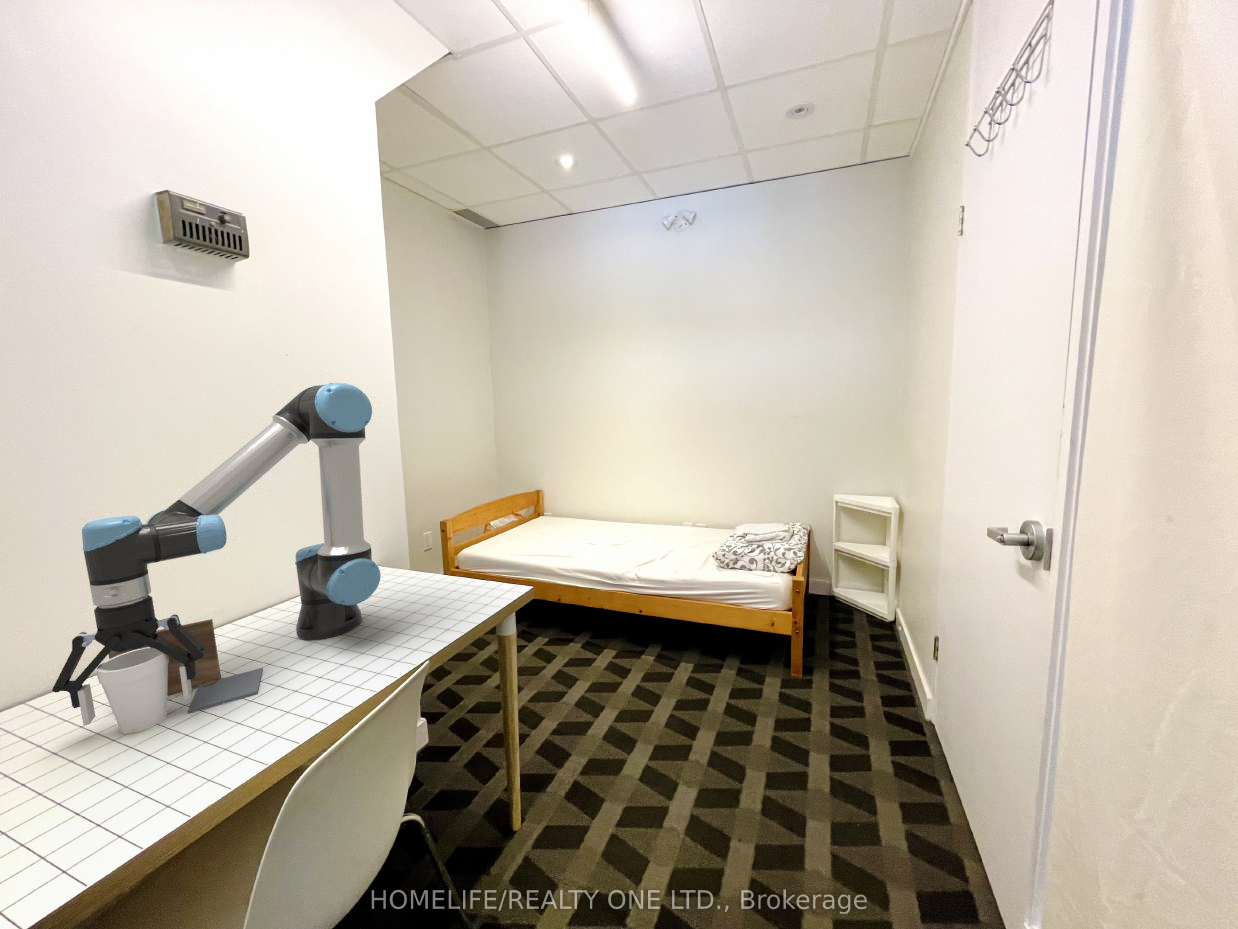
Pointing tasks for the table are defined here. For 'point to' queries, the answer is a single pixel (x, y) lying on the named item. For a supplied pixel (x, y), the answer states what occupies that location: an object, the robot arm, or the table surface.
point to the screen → (204, 667)
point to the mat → (226, 690)
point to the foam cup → (136, 688)
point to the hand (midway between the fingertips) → (140, 707)
